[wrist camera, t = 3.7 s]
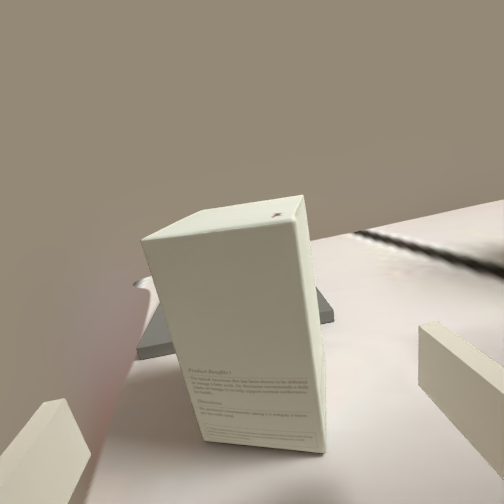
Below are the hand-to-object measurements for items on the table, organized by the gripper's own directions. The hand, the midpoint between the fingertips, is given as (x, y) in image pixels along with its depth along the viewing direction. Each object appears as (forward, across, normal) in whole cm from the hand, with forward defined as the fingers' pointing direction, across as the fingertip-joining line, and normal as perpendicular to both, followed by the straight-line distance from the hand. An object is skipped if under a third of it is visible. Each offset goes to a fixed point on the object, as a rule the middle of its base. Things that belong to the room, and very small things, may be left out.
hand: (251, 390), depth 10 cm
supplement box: (+7, +1, -7) cm, 10 cm away
